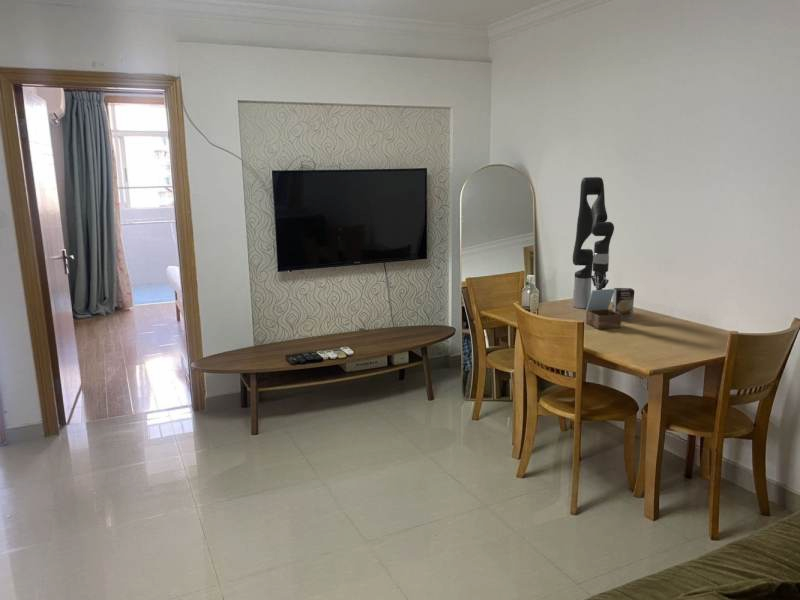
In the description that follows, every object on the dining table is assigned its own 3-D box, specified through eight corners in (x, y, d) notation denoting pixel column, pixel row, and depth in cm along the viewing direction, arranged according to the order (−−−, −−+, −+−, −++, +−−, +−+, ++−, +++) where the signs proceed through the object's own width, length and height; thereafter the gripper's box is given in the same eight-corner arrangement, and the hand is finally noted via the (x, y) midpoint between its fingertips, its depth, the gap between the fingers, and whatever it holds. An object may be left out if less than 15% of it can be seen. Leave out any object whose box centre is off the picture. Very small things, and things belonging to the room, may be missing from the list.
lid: (586, 310, 304) (585, 309, 305) (608, 309, 306) (606, 307, 307) (592, 291, 297) (591, 289, 298) (614, 289, 299) (613, 288, 300)
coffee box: (614, 320, 311) (616, 290, 308) (611, 317, 318) (613, 287, 314) (632, 320, 310) (634, 290, 307) (629, 317, 317) (631, 287, 313)
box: (586, 323, 305) (586, 311, 304) (607, 322, 308) (607, 309, 306) (598, 329, 294) (599, 316, 292) (620, 328, 296) (621, 314, 295)
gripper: (587, 260, 304) (585, 293, 308) (601, 264, 292) (599, 298, 296) (600, 259, 306) (598, 292, 310) (614, 263, 293) (612, 298, 297)
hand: (598, 295), depth 303 cm, fingers closed
